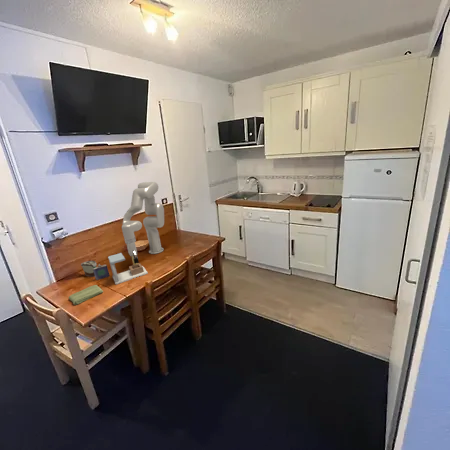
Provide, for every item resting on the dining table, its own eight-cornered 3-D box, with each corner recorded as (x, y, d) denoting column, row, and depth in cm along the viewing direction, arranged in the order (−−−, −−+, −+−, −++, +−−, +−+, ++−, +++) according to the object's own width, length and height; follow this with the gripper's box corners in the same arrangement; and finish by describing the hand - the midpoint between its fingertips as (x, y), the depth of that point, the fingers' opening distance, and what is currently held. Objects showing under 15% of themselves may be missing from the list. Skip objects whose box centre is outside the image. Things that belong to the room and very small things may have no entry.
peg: (133, 267, 192) (130, 253, 189) (138, 265, 194) (135, 251, 191) (134, 268, 189) (131, 254, 186) (139, 267, 191) (136, 253, 188)
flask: (96, 280, 178) (92, 267, 175) (95, 279, 180) (91, 265, 177) (109, 276, 182) (106, 263, 179) (109, 274, 184) (105, 261, 181)
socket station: (112, 276, 181) (107, 256, 176) (142, 266, 191) (138, 247, 186) (115, 284, 169) (110, 263, 164) (147, 273, 180) (143, 253, 175)
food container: (103, 272, 189) (99, 260, 186) (96, 276, 184) (93, 264, 181) (90, 271, 193) (87, 259, 190) (84, 275, 188) (80, 263, 185)
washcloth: (104, 292, 161) (103, 288, 160) (75, 306, 149) (73, 302, 148) (96, 286, 170) (95, 282, 169) (68, 299, 158) (66, 295, 157)
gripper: (122, 238, 190) (127, 259, 195) (127, 244, 176) (132, 266, 181) (132, 236, 194) (137, 256, 199) (138, 241, 180) (143, 263, 185)
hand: (135, 261), depth 190 cm, fingers open, 9 cm apart
